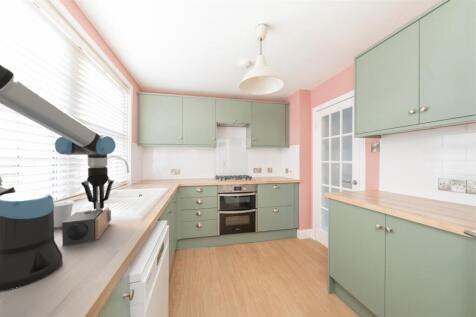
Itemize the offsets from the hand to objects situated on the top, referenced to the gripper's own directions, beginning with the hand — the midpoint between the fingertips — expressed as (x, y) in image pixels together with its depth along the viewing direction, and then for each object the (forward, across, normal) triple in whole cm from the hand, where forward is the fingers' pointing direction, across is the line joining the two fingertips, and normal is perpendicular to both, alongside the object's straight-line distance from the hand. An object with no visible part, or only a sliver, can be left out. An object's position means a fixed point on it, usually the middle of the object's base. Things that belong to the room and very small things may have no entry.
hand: (99, 215), depth 90 cm
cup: (+6, +18, -8) cm, 21 cm away
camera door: (+5, -4, +7) cm, 10 cm away
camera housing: (+5, +2, +11) cm, 12 cm away
